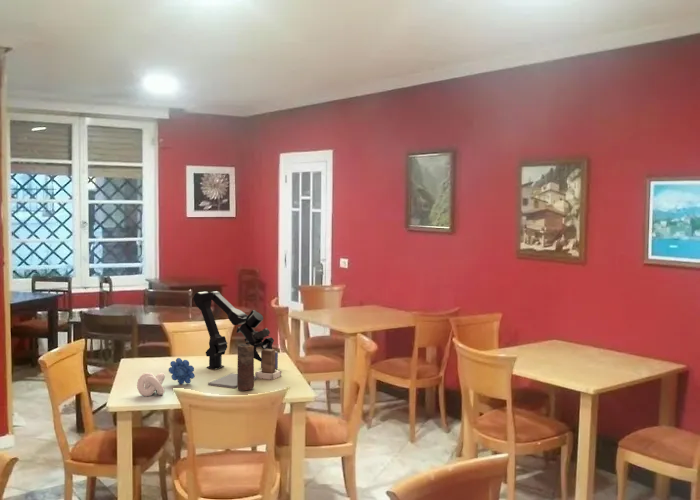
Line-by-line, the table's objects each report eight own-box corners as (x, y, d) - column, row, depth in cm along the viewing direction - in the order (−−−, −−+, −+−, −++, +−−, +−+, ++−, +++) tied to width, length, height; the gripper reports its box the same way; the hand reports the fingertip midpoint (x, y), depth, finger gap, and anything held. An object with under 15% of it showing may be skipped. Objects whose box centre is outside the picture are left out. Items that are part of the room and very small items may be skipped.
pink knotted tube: (149, 389, 306) (149, 369, 305) (173, 392, 302) (173, 371, 302) (133, 396, 295) (133, 375, 294) (158, 398, 291) (158, 377, 291)
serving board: (232, 375, 333) (232, 373, 333) (257, 378, 328) (257, 376, 328) (208, 384, 315) (208, 382, 315) (234, 388, 310) (234, 386, 310)
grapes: (166, 386, 311) (166, 360, 310) (169, 382, 317) (169, 356, 317) (193, 386, 312) (193, 360, 311) (195, 382, 318) (195, 356, 318)
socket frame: (264, 373, 337) (264, 368, 337) (281, 375, 334) (281, 370, 333) (255, 377, 329) (255, 372, 329) (272, 379, 326) (272, 374, 326)
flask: (278, 368, 348) (278, 347, 347) (275, 370, 345) (276, 348, 345) (262, 367, 351) (262, 346, 351) (259, 368, 349) (259, 347, 348)
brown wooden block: (265, 375, 334) (266, 348, 334) (275, 376, 332) (275, 349, 332) (261, 377, 331) (261, 350, 330) (270, 378, 329) (271, 351, 328)
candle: (237, 386, 312) (238, 342, 311) (254, 386, 313) (254, 342, 312) (236, 391, 305) (236, 346, 303) (253, 391, 305) (253, 346, 304)
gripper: (245, 326, 325) (264, 352, 320) (271, 320, 341) (289, 345, 336) (233, 340, 330) (251, 366, 325) (258, 335, 346) (276, 359, 341)
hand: (267, 359), depth 331 cm, fingers open, 9 cm apart
